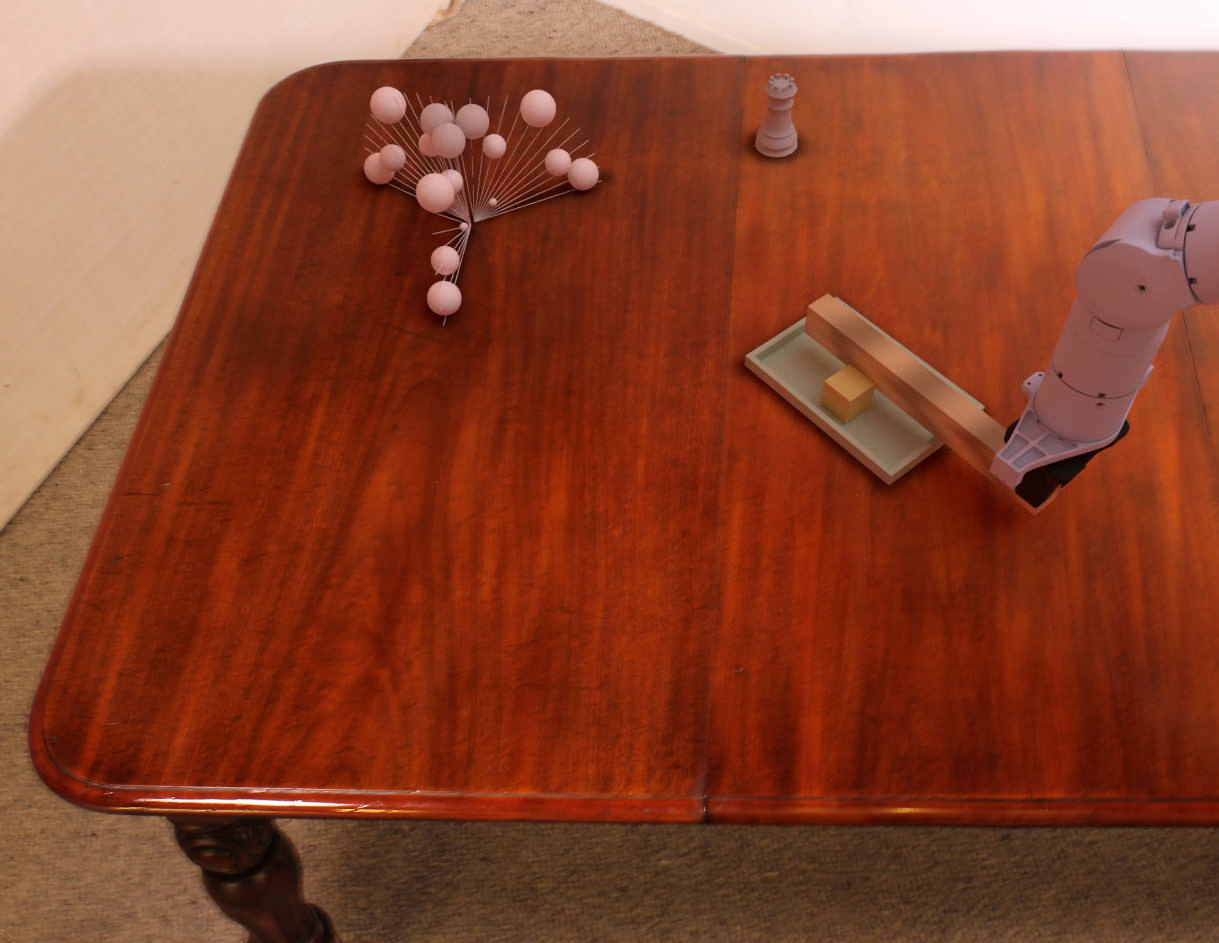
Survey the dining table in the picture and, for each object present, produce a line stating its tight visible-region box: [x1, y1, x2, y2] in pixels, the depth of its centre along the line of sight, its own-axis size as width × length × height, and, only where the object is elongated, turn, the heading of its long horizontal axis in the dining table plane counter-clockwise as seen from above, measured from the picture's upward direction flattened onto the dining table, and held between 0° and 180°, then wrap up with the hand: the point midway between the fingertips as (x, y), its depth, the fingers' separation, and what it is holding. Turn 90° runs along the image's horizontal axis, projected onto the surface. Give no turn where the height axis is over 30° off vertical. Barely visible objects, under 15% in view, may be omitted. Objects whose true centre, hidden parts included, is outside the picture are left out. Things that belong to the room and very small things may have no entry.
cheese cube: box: [821, 364, 875, 424], centre depth 91 cm, size 3×3×3 cm
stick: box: [804, 293, 1062, 516], centre depth 87 cm, size 25×2×3 cm, turn 38°
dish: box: [744, 296, 986, 486], centre depth 92 cm, size 17×11×2 cm, turn 38°
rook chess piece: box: [754, 72, 798, 159], centre depth 111 cm, size 4×4×8 cm
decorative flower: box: [363, 86, 601, 326], centre depth 101 cm, size 25×22×14 cm
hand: (1040, 487), depth 81 cm, fingers closed on stick, 2 cm apart
